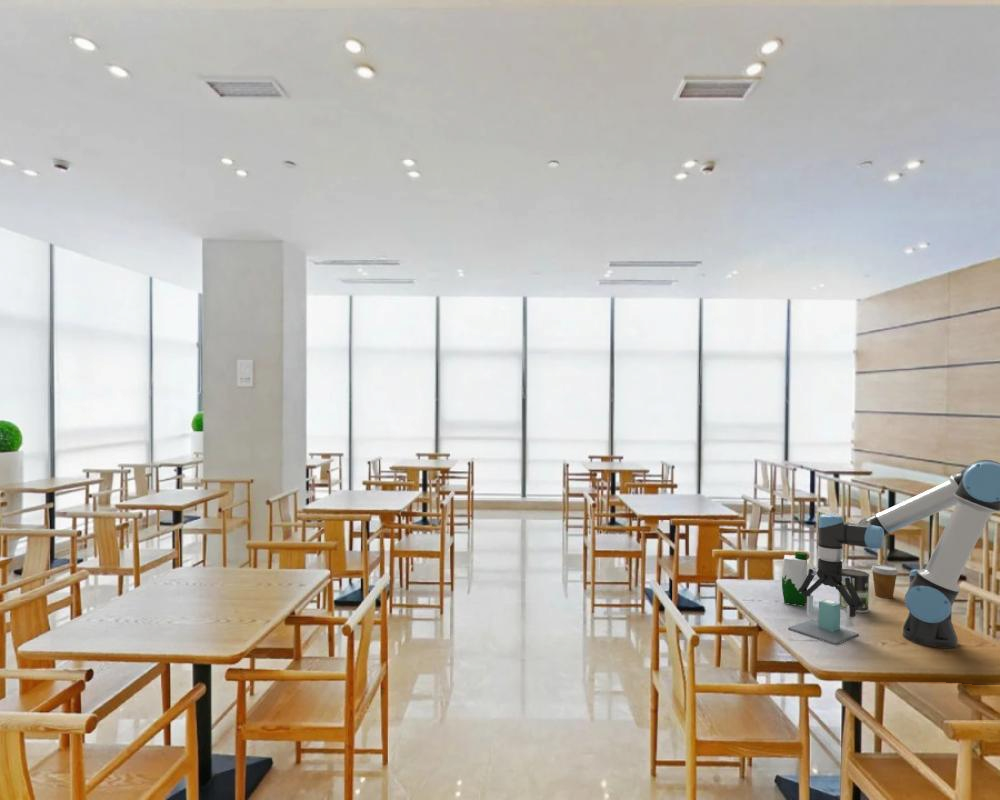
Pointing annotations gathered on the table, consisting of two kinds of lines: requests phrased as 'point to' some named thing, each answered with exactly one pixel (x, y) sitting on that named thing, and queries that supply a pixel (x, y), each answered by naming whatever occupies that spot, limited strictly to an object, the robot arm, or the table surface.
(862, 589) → the coffee can
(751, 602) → the table surface
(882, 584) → the disposable coffee cup
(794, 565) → the milk carton
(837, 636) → the mat
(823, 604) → the block
